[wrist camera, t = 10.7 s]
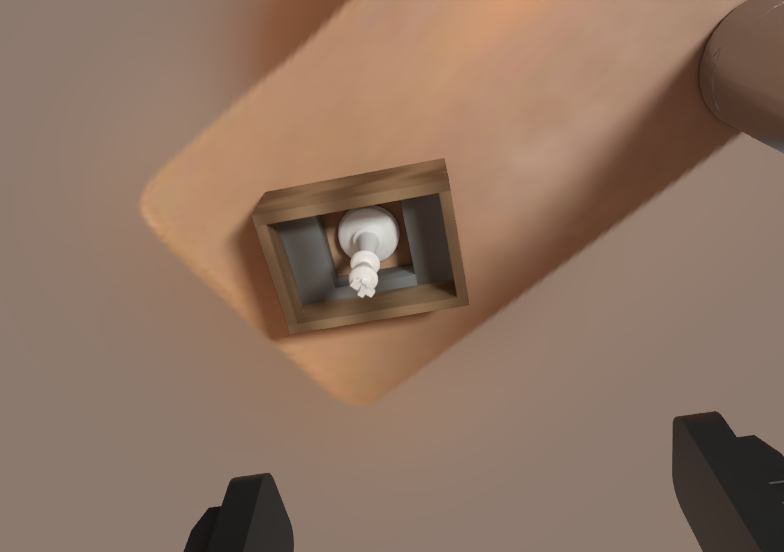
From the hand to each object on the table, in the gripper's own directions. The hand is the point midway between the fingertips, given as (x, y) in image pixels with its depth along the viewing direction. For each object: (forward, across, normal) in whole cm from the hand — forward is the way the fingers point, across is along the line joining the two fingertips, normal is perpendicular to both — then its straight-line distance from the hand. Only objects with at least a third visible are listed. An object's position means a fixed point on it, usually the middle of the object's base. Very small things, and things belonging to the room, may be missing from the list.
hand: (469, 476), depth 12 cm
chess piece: (+36, +6, +9) cm, 38 cm away
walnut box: (+36, +6, +10) cm, 38 cm away
